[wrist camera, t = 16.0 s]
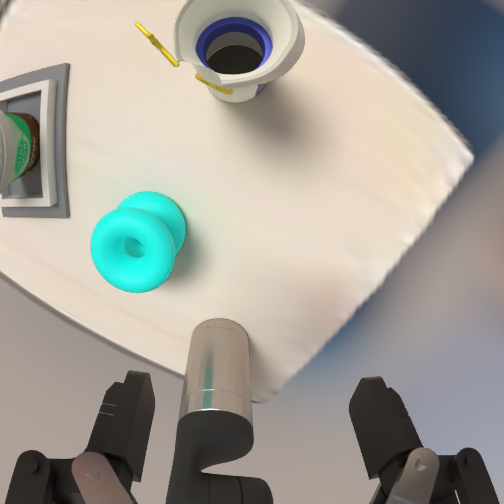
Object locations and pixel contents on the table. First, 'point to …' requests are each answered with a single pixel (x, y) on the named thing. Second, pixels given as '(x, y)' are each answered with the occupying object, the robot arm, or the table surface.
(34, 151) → the food container
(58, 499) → the robot arm
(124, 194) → the table surface
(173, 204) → the donuts
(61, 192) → the tray
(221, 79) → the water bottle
